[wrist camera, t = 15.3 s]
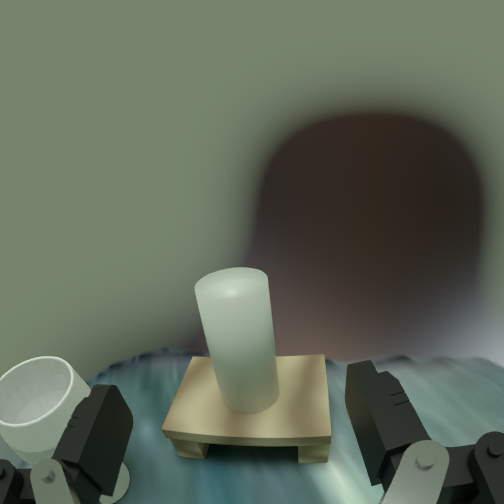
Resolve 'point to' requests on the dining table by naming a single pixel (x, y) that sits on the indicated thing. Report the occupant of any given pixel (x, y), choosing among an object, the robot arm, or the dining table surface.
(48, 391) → the cup
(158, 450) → the dining table surface
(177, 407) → the shelf stand
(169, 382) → the dining table surface
